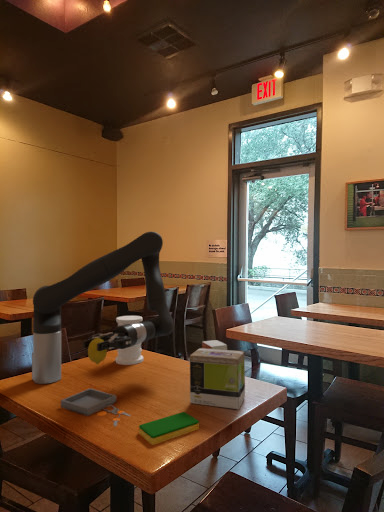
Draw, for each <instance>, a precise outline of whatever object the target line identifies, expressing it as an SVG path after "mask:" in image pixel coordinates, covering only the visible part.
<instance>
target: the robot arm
mask: <svg viewBox="0 0 384 512" xmlns="http://www.w3.org/2000/svg"><path fill="white" fill-rule="evenodd" d="M163 242H164V241H163V237H162V236H161V235H160V234H159V233H158V232H156V231H146V232H144V233H143V234H141V235H139V236H138V237H136V238H135V239H133V240H132V241H131V242H129V243H127V244H126V245H124V246H121V247H118V248H117V249H115V250H113V251H111V252H109V253H107V254H104V255H103V256H100V257H98V258H96V259H94V260H91V262H89V263H87V264H85V265H84V266H82V267H81V268H79V269H78V270H77V271H75V272H74V273H72V274H71V275H70V276H68V277H67V278H65V279H63V280H60V281H58V282H56V283H53V284H51V285H44V286H40V287H39V288H38V289H37V290H36V291H35V293H34V294H33V296H32V297H33V299H32V304H33V320H32V321H33V323H32V333H33V335H32V338H33V339H32V340H33V341H32V342H33V343H32V345H33V346H32V347H33V350H32V351H33V352H32V353H31V371H32V372H31V380H33V383H35V384H37V385H38V384H39V385H43V384H52V383H55V382H58V381H60V380H62V306H65V304H66V303H68V302H70V301H71V300H74V299H75V298H76V297H78V296H80V295H82V294H84V293H88V292H89V291H91V290H94V289H96V288H98V287H99V286H102V285H104V284H105V283H107V282H109V281H111V280H113V279H114V278H116V277H118V276H119V275H120V274H121V273H123V272H124V271H126V270H127V269H128V268H129V267H130V266H131V265H133V264H135V263H136V262H137V261H140V260H141V263H142V268H143V273H144V280H145V281H144V282H145V292H146V302H147V308H148V310H149V311H150V312H156V313H157V315H158V316H157V317H153V318H149V319H146V320H143V321H140V322H134V323H129V324H125V325H121V326H118V325H117V326H116V327H115V328H114V329H113V331H112V332H107V333H103V332H98V333H95V334H92V335H90V336H89V338H88V339H84V340H83V341H82V348H83V349H88V347H89V344H90V342H91V341H92V340H94V339H96V338H99V339H102V340H103V341H104V342H101V343H98V344H97V350H98V351H102V350H105V349H107V350H112V349H114V350H115V351H117V349H125V348H128V347H131V346H134V345H137V344H139V343H141V342H142V343H143V342H147V341H150V340H151V339H153V338H158V337H163V336H167V335H170V334H172V332H173V331H174V328H175V323H174V319H173V317H172V315H171V312H170V310H169V306H168V305H167V297H166V291H165V285H164V280H163V278H162V275H161V270H160V269H161V267H160V253H161V252H162V251H161V250H162V248H163ZM142 343H141V344H142Z"/></svg>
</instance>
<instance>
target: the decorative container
mask: <svg viewBox="0 0 384 512" xmlns="http://www.w3.org/2000/svg"><path fill="white" fill-rule="evenodd" d="M140 321H144V320H143V317H142V315H141V316H140V315H122V316H117V317H116V321H115V322H116V323H117V326H121V325H125V324H129V323H134V322H140ZM142 343H143V342H141V343H139V344H137V345H134V346H131V347H128V348H125V349H116V352H117V356H116V357H115V360H114V361H115V363H116V364H118V365H123V366H129V365H130V366H131V365H138V364H141V363H143V362H144V356H143V355H142V351H143V349H142Z"/></svg>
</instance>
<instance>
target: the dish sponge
mask: <svg viewBox="0 0 384 512" xmlns="http://www.w3.org/2000/svg"><path fill="white" fill-rule="evenodd" d="M197 430H200V421H199V419H196V418H195V417H193V416H192V415H190V414H189V413H187V412H185V411H181V412H179V413H175V414H172V415H169V416H165V417H162V418H159V419H155V420H152V421H149V422H145V423H142V424H139V425H138V434H139V435H140V436H141V437H142V438H144V440H145V441H147V442H148V443H149V444H151V445H153V446H154V445H157V444H160V443H163V442H166V441H168V440H172V439H174V438H177V437H179V436H183V435H186V434H188V433H191V432H194V431H197Z"/></svg>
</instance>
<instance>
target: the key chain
mask: <svg viewBox="0 0 384 512" xmlns="http://www.w3.org/2000/svg"><path fill="white" fill-rule="evenodd" d="M108 407H112V408H113V409H112V410H107V409H105V408H102V409H101V410H104V411H98V412H96V415H97V416H99V417H103V416H106V415H107V413H112V414H113V415H118V417H116V418H113V419H112V422H113V424H112V425H113V427H117V426H118V422H120V421H121V418H120V417H121V415H124V416H127V417H131V416H132V414H129V413H127V412H126V411H124V410H120V409H119V408H117V407H115V406H114V405H113V404H111V405H109V406H107V407H106V408H108Z"/></svg>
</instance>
